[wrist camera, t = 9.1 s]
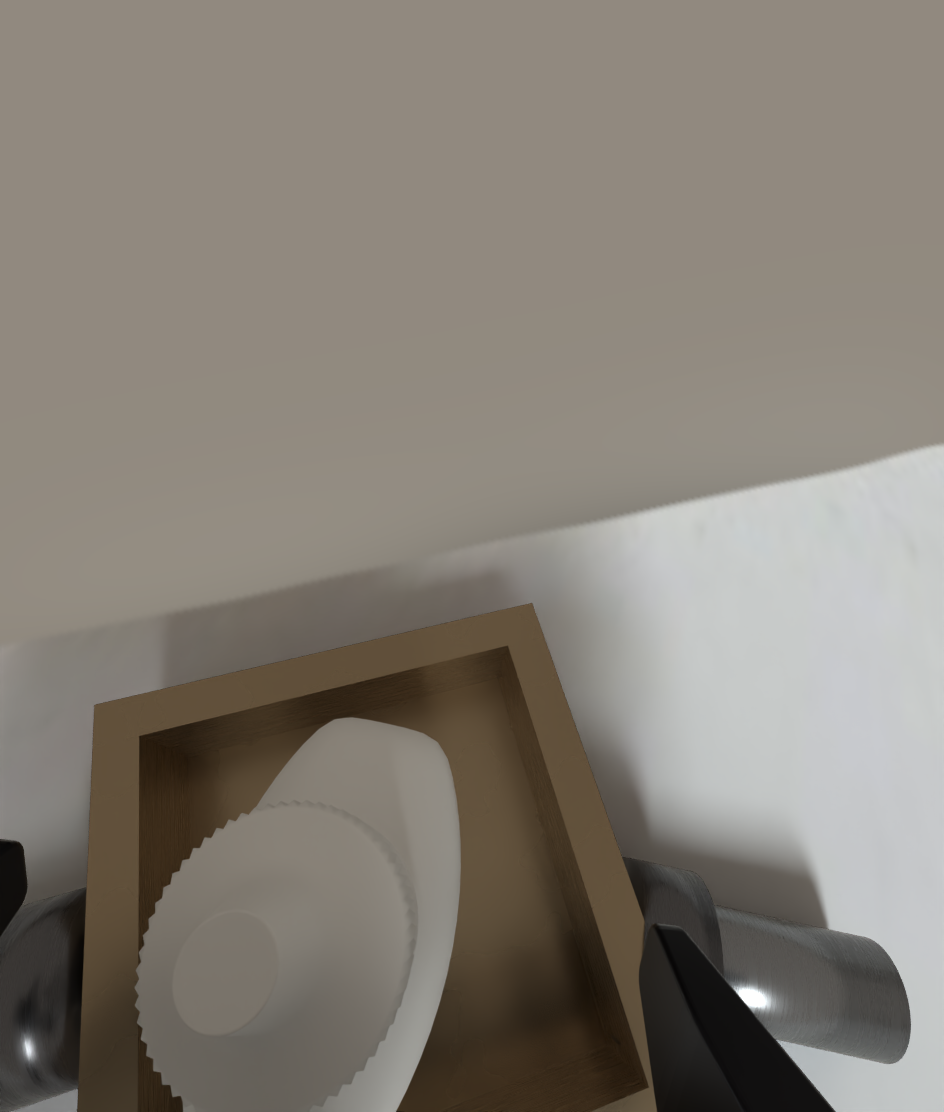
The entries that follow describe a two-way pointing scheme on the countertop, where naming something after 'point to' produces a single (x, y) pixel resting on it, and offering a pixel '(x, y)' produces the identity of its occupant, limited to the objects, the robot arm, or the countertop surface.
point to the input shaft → (41, 1000)
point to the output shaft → (787, 968)
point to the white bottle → (310, 933)
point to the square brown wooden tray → (486, 861)
